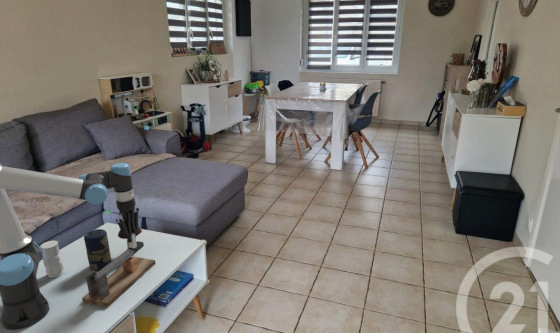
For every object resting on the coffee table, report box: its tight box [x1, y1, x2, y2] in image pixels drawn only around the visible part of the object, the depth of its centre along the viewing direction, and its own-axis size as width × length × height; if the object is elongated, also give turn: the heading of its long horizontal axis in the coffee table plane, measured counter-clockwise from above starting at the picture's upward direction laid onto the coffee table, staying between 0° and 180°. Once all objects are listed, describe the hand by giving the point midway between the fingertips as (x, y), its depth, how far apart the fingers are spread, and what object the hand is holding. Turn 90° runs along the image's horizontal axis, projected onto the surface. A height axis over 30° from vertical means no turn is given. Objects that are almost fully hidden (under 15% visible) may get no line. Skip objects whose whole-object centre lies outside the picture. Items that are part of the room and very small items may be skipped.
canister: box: [83, 228, 112, 271], centre depth 169 cm, size 10×10×18 cm
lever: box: [91, 240, 145, 281], centre depth 157 cm, size 4×29×2 cm, turn 164°
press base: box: [81, 256, 156, 308], centre depth 158 cm, size 12×32×12 cm, turn 164°
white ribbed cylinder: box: [39, 240, 64, 279], centre depth 164 cm, size 7×7×15 cm
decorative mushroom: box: [117, 226, 143, 249], centre depth 181 cm, size 11×11×15 cm
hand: (133, 247), depth 165 cm, fingers closed
